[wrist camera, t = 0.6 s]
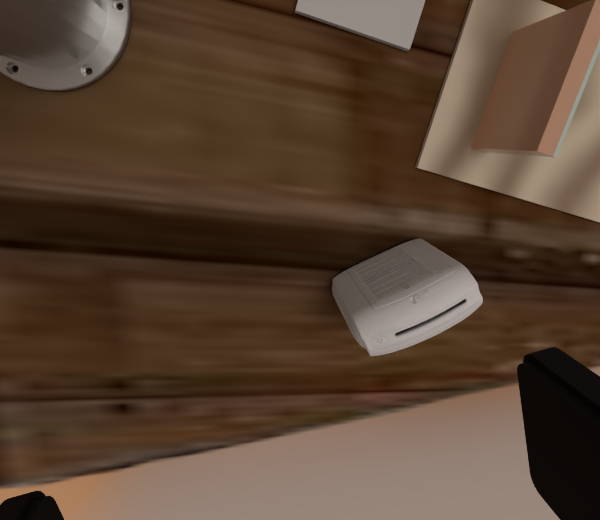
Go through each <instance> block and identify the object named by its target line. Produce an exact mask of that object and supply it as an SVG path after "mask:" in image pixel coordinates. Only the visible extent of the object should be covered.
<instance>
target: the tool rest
mask: <svg viewBox="0 0 600 520" xmlns="http://www.w3.org/2000/svg"><path fill="white" fill-rule="evenodd" d="M424 3H425V0H298V1H297V5H296V9H295V13H297V14H300V15H303V16H306V17H308V18H311V19H314V20H317V21H320V22H323V23H326V24H329V25H332V26H335V27H337V28H340V29H343V30H346V31H349V32H352V33H355V34H358V35H361V36H364V37H367V38H369V39H372V40H375V41H378V42H381V43H384V44H387V45H390V46H393V47H396V48H398V49H401V50H404V51H408V50H410V47H411V44H412V41H413V38H414V35H415V31H416V28H417V25H418V22H419V19H420V15H421V12H422V9H423V6H424Z"/></svg>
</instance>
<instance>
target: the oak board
mask: <svg viewBox="0 0 600 520" xmlns="http://www.w3.org/2000/svg"><path fill="white" fill-rule="evenodd" d="M563 11H566V10H564V9H561V8H559V7H556V6H554V5H551V4H548V3H546V2H543V1H541V0H471V1H470V4H469V7H468V10H467V13H466V16H465V19H464V22H463V25H462V28H461V31H460V34H459V37H458V40H457V43H456V46H455V49H454V52H453V55H452V58H451V61H450V64H449V67H448V70H447V73H446V76H445V79H444V82H443V85H442V88H441V91H440V94H439V97H438V100H437V103H436V106H435V109H434V112H433V115H432V118H431V121H430V124H429V127H428V130H427V133H426V136H425V139H424V142H423V145H422V148H421V151H420V154H419V157H418V160H417V163H416V166H415V168H419V169H422V170H425V171H429V172H432V173H435V174H439V175H442V176H446V177H449V178H452V179H456V180H459V181H462V182H466V183H469V184H472V185H476V186H479V187H482V188H486V189H489V190H492V191H496V192H499V193H502V194H506V195H509V196H512V197H516V198H519V199H522V200H526V201H529V202H532V203H536V204H539V205H542V206H546V207H549V208H553V209H556V210H559V211H563V212H566V213H569V214H573V215H576V216H579V217H583V218H586V219H589V220H593V221H596V222H599V223H600V51H599V53H598V56H597V58H596V61H595V63H594V66H593V68H592V71H591V73H590V76H589V78H588V81H587V83H586V86H585V88H584V91H583V93H582V96H581V98H580V101H579V103H578V106H577V108H576V111H575V113H574V116H573V118H572V121H571V123H570V126H569V128H568V131H567V133H566V136H565V138H564V141H563V143H562V146H561V148H560V151H559V153H558V156H557V157H543V156H528V155H513V154H497V153H486V152H482V151H479V150H476V149H473V148H471V146H472V143H473V140H474V137H475V135H476V132H477V129H478V126H479V123H480V121H481V118H482V115H483V112H484V109H485V107H486V104H487V101H488V98H489V95H490V93H491V90H492V87H493V84H494V81H495V79H496V76H497V73H498V70H499V67H500V65H501V62H502V59H503V56H504V53H505V50H506V48H507V45H508V42H509V39H510V36H511V34H512V32H513V31H516V30H518V29H521V28H523V27H526V26H528V25H531V24H533V23H536V22H538V21H541V20H543V19H546V18H548V17H551V16H553V15H556V14H558V13H561V12H563Z"/></svg>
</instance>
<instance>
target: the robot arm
mask: <svg viewBox="0 0 600 520" xmlns="http://www.w3.org/2000/svg"><path fill="white" fill-rule="evenodd" d="M121 4H122V5H123V9H122V10H121V11H120V10H118V6H119V5H121ZM131 18H132V10H131V1H130V0H0V72H1V73H2V74H4V75H6V76H7V77H9V78H10V79H12V80H14V81H17V82H19V83H22V84H24V85H27V86H30V87H34V88H37V89H42V90H50V91H67V90H74V89H78V88H81V87H85V86H88V85H89V84H91V83H93V82H95V81H97V80H99V79H100V78H102V77H103V76H104V75H105V74H106V73H108V72H109V71H110V70H111V69H112V68H113V66H114V65H115V64H116V63H117V61H118V60H119V59H120V57H121V55H122V53H123V51H124V49H125V47H126V45H127V41H128V38H129V34H130V30H131ZM16 66H18V72H17V73H16V72H15V67H16ZM90 68H91V69H92V74H91V75H89V74H88V73H87V70H88V69H90ZM517 373H518V381H519V389H520V397H521V404H522V413H523V420H524V429H525V436H526V444H527V452H528V460H529V467H530V475H531V478H532V481H533V484H534V486H535V487H536V489H537V491H538V493H539V494H540V495H541V497H542V498H543V499H544V500H545V502H546V503H547V504H548V505H549V506H550V508H551V509H552V510H553V511H554V513H555V514H556V515H557V516H558V517H559V518H560V520H600V376H598V375H597V374H595V373H594V372H592V371H591V370H589V369H588V368H586V367H585V366H583V365H582V364H580V363H579V362H578V361H576V360H575V359H573V358H572V357H570V356H569V355H567V354H566V353H564V352H563V351H561V350H560V349H558V348H556V347H551V348H548V349H544V350H541V351H537V352H533V353H530V354H527V355H525V356H524V360H523V363H522V364H519V365H518V368H517ZM0 520H64V518H63V516H62V514H61V512H60V510H59V508H58V506H57V504H56V501H55V500H54V498H52V497H51V496H45V494H44V493H42V492H41V491H34V492H30V493H27V494H23V495H20V496H16V497H12V498H9V499H7V500H5V501H4V502H3V503H2V504H1V505H0Z"/></svg>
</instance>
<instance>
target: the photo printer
mask: <svg viewBox="0 0 600 520" xmlns="http://www.w3.org/2000/svg"><path fill="white" fill-rule="evenodd" d="M332 282H333V284H332V293H333V296H334V299H335V301H336V303H337V305H338V307H339V309H340V311H341V313H342V315H343V317H344V319H345V321H346V323H347V325H348V327H349V329H350V331H351V333H352V335H353V337H354V338H355V340H356V341H357V342H358V344H359V345H361V346H362V347H363V348H365V349H366V350H367V351H368V353H369V355H370V356H378V355H384V354H388V353H392V352H395V351H398V350H401V349H404V348H407V347H409V346H412V345H415V344H417V343H419V342H422V341H424V340H426V339H429V338H431V337H433V336H435V335H437V334H439V333H441V332H443V331H445V330H447V329H449V328H450V327H452V326H454V325H456V324H457V323H459V322H460V321H462V320H464V319H465V318H466V317H468V316H469V315H470V314H472V313H473V312H474V311H475V310H476V309H477V308H479V306H480V305H481V304H482V302H483V298H482V296H481V294H480V292H479V288H478V284H477V282H476V280H475V279H474V277H473V276H472V275H471V273H470V272H469V271H468V270H467V268H466V267H465V266H464V265H462V264H461V263H459V262H458V261H456V260H455V259H453V258H451V257H450V256H448V255H446V254H445V253H443V252H442V251H440V250H438V249H437V248H435V247H434V246H432V245H430V244H429V243H427V242H426V241H424V240H422V239H415V240H411V241H408V242H405V243H403V244H400V245H398V246H396V247H393V248H391V249H389V250H387V251H385V252H382V253H380V254H378V255H376V256H374V257H372V258H370V259H368V260H365V261H363V262H361V263H359V264H357V265H355V266H353V267H351V268H349V269H347V270H345V271H343V272H342V273H340V274H338V275H337V276H336V277H334V278H333V279H332Z"/></svg>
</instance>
